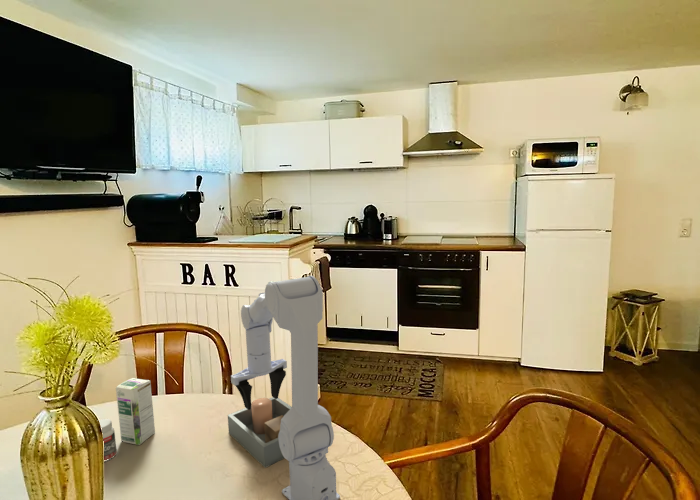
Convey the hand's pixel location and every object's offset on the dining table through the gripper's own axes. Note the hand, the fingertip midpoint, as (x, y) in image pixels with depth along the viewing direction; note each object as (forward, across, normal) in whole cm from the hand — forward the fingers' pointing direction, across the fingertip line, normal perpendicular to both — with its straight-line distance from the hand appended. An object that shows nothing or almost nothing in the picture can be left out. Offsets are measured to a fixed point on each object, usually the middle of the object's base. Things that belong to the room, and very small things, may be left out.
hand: (261, 402), depth 107 cm
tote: (+8, 0, +4) cm, 9 cm away
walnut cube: (+7, 0, +8) cm, 11 cm away
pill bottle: (+8, +32, -16) cm, 37 cm away
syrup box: (+8, +24, -19) cm, 32 cm away
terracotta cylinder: (+7, 0, 0) cm, 7 cm away
